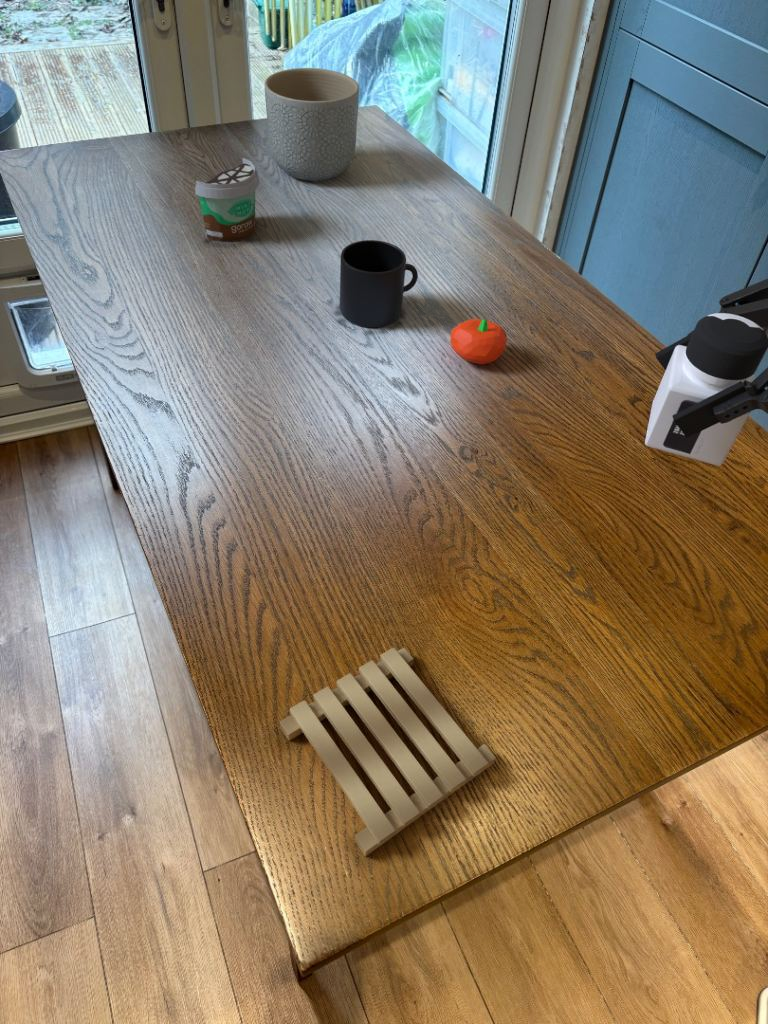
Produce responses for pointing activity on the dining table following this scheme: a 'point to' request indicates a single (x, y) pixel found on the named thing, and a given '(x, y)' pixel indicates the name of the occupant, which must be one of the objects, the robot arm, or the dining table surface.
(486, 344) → the pumpkin
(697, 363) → the container
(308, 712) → the rack
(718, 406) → the robot arm
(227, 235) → the food container
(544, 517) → the dining table surface
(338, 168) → the planter
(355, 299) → the mug
